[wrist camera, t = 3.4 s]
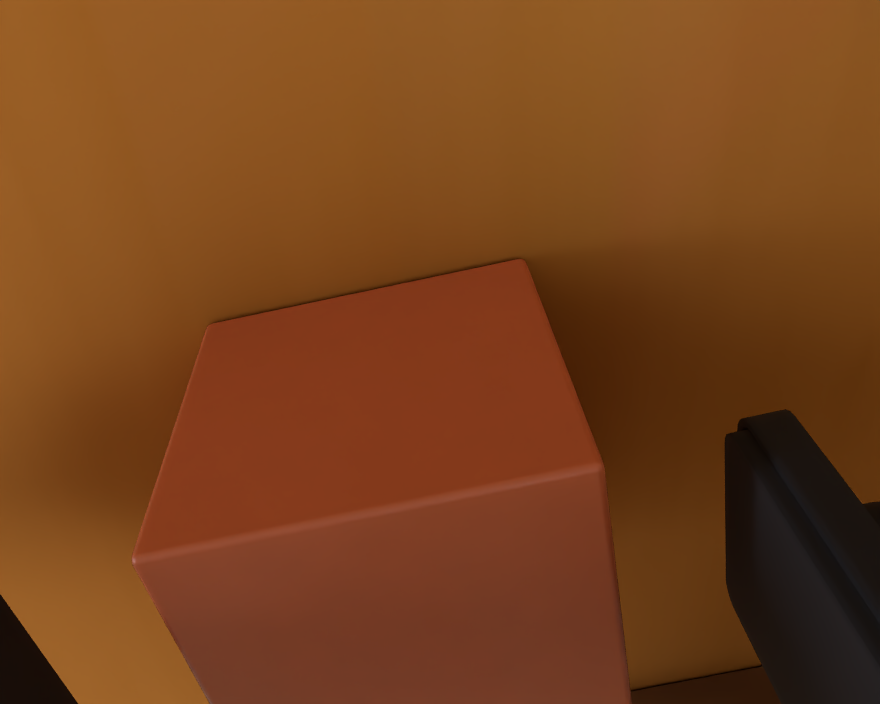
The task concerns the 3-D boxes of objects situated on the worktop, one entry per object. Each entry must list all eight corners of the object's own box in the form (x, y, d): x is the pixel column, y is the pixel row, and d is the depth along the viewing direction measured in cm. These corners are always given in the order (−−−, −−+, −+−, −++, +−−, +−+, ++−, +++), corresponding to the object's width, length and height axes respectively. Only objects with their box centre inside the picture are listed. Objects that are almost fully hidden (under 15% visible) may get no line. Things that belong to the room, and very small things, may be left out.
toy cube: (524, 255, 13) (606, 465, 8) (562, 498, 15) (639, 751, 11) (205, 322, 13) (125, 561, 9) (296, 550, 15) (271, 820, 11)
